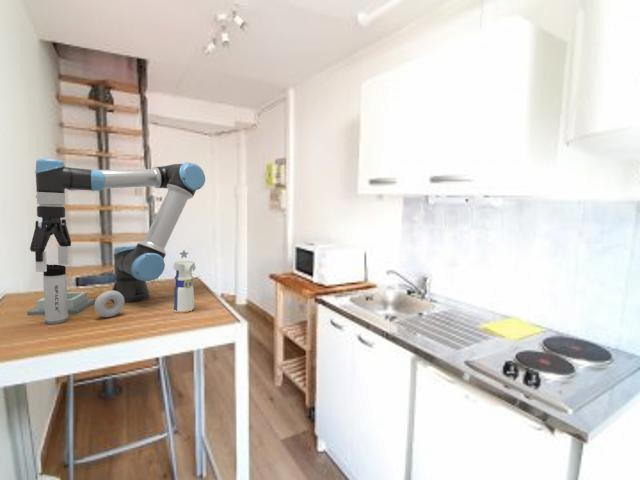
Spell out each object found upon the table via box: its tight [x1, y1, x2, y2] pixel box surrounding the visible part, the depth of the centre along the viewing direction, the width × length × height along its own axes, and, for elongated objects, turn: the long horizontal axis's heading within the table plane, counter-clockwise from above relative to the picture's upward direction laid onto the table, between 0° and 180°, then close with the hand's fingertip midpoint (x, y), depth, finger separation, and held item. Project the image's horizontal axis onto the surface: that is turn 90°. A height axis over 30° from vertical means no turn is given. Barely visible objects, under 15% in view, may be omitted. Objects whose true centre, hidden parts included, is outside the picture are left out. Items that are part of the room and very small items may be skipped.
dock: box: [27, 291, 96, 316], centre depth 134 cm, size 16×16×5 cm
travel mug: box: [42, 264, 69, 325], centre depth 118 cm, size 6×7×20 cm
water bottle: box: [172, 249, 196, 311], centre depth 136 cm, size 8×8×25 cm
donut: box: [93, 289, 126, 318], centre depth 125 cm, size 10×3×10 cm, turn 143°
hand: (52, 267), depth 117 cm, fingers open, 13 cm apart
